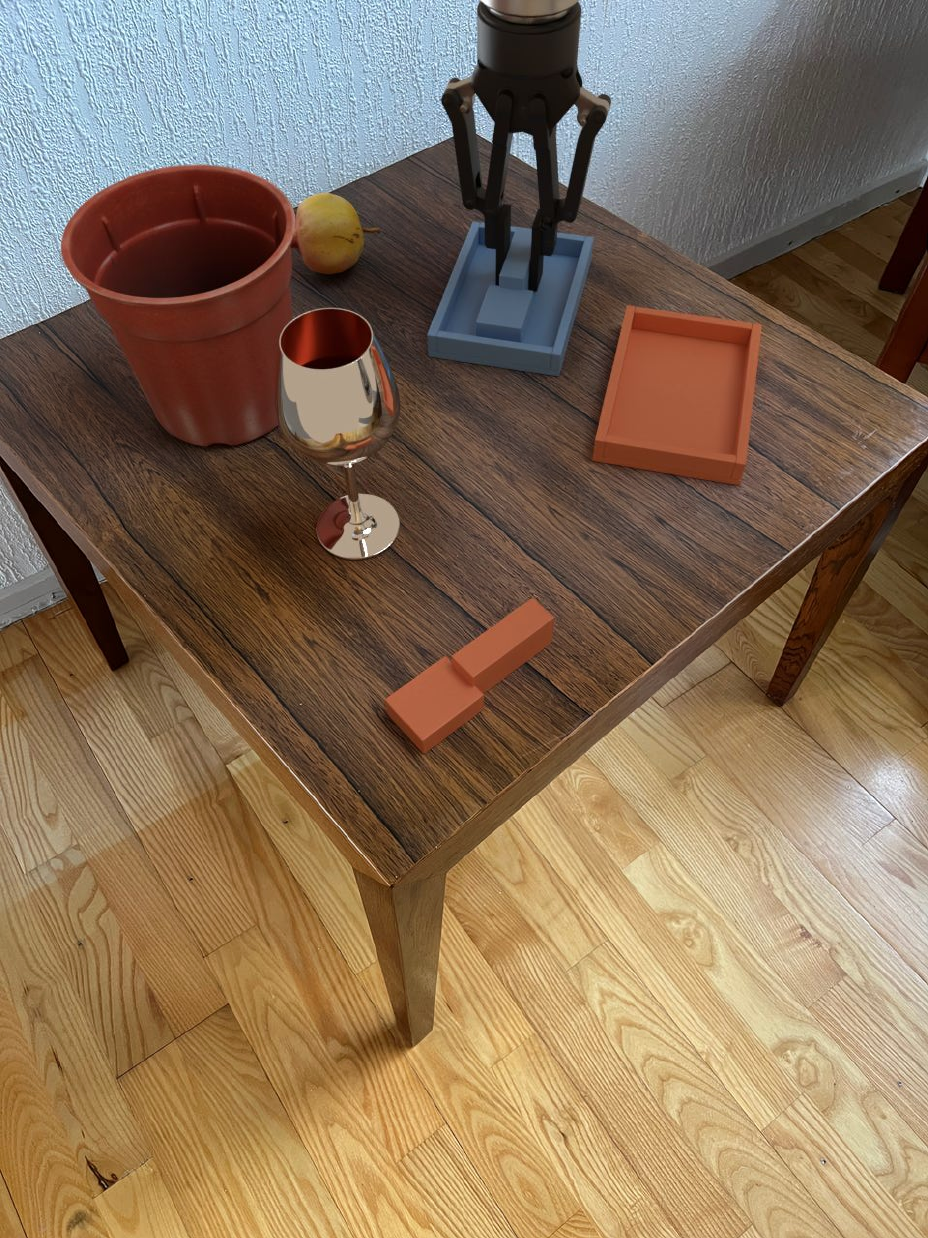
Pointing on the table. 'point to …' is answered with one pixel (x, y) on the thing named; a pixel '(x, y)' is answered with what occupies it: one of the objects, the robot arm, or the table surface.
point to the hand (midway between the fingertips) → (519, 279)
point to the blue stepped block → (509, 295)
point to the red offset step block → (468, 676)
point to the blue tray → (548, 318)
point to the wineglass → (339, 419)
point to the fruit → (328, 233)
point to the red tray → (680, 395)
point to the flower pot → (192, 291)
